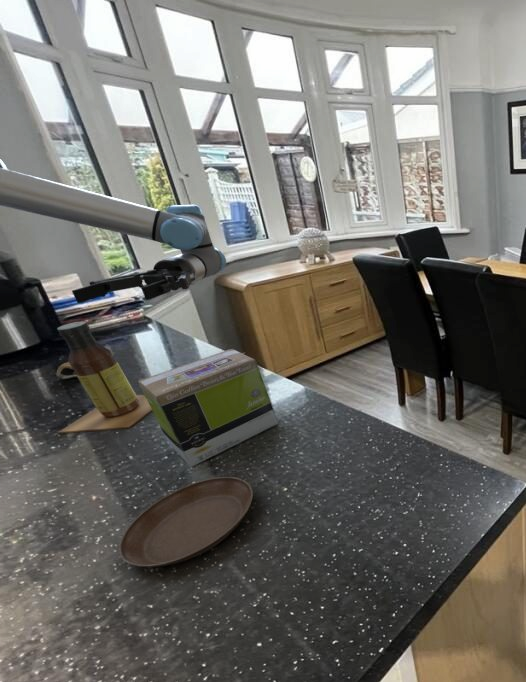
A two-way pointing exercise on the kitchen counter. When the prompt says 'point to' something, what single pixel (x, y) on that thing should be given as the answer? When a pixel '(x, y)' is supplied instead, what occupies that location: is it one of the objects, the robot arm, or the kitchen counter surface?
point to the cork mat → (109, 419)
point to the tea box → (210, 404)
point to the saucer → (186, 522)
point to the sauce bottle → (98, 371)
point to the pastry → (66, 371)
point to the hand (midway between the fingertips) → (110, 295)
